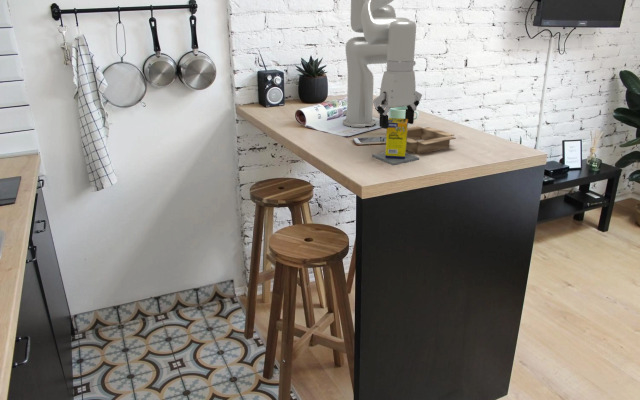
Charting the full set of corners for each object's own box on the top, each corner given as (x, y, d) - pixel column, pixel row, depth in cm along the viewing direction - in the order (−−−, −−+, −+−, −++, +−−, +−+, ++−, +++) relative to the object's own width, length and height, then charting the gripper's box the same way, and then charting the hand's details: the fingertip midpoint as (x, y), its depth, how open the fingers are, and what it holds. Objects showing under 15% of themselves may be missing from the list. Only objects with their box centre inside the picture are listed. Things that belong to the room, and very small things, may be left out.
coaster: (372, 156, 159) (372, 154, 158) (397, 151, 164) (397, 149, 163) (392, 165, 151) (393, 163, 151) (419, 159, 156) (419, 157, 155)
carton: (380, 143, 172) (380, 132, 171) (421, 135, 181) (422, 125, 179) (417, 157, 158) (417, 145, 156) (460, 148, 166) (461, 136, 165)
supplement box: (405, 159, 154) (407, 123, 150) (384, 158, 155) (386, 122, 151) (406, 153, 159) (408, 118, 155) (386, 152, 160) (388, 117, 156)
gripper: (414, 62, 154) (410, 118, 161) (367, 67, 146) (365, 126, 153) (432, 65, 148) (427, 124, 155) (384, 71, 140) (381, 132, 147)
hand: (396, 125), depth 154 cm, fingers open, 9 cm apart
